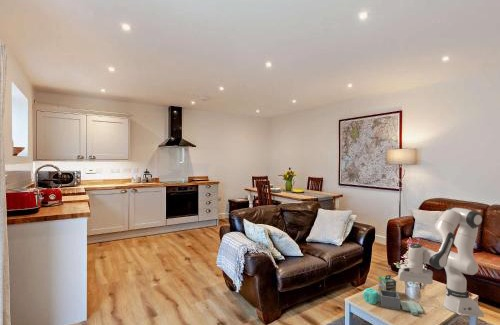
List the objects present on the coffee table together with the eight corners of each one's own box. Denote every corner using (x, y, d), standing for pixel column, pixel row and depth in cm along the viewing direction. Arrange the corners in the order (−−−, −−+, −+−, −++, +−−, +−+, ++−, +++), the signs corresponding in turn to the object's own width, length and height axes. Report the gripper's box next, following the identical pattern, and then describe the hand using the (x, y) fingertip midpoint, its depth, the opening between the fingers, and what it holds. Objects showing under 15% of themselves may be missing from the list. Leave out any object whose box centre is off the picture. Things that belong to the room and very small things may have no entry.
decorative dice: (362, 300, 202) (363, 289, 202) (369, 297, 206) (369, 287, 206) (372, 305, 195) (373, 294, 195) (379, 302, 200) (379, 291, 199)
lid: (418, 306, 196) (418, 302, 196) (425, 317, 182) (425, 313, 182) (399, 303, 199) (399, 299, 199) (404, 314, 185) (404, 310, 185)
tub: (396, 302, 199) (396, 291, 199) (399, 310, 190) (400, 298, 190) (378, 299, 203) (379, 289, 203) (381, 307, 193) (381, 296, 193)
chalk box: (388, 289, 218) (388, 271, 218) (396, 295, 209) (396, 276, 209) (377, 290, 217) (378, 272, 216) (385, 296, 208) (386, 277, 207)
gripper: (431, 268, 185) (430, 288, 185) (397, 264, 190) (397, 283, 191) (434, 272, 179) (434, 292, 179) (400, 268, 184) (399, 288, 185)
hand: (414, 288), depth 185 cm, fingers open, 8 cm apart
